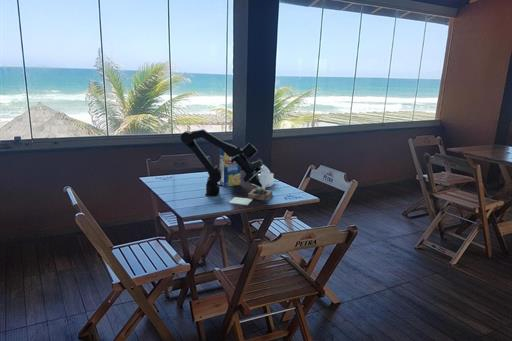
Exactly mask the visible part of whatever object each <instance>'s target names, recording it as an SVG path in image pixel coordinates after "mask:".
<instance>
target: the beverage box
mask: <svg viewBox="0 0 512 341" xmlns="http://www.w3.org/2000/svg"><path fill="white" fill-rule="evenodd" d="M239 155H240V154H239ZM239 155H238V156H239ZM236 156H237V155H236ZM231 158H234V157H230V156H228V155H227V154H226V153H225V152H224V151H223V150H222V149H221V148H219V169H220V170H221V174H222V175H221V180H220V181H219V185H221V186H222V187H231V186H232V187H233V186H240V185H241V175H242V174H241V172H242V171H241V168H240V167H239V166H238V164H237V163H236V162H233V163H231Z"/></svg>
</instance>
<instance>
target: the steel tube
mask: <svg viewBox="0 0 512 341" xmlns="http://www.w3.org/2000/svg"><path fill="white" fill-rule="evenodd" d="M265 177H266V175H265V174H257V178H258V180H259V181H260V183H261V184H262V187H259V186H257V185H256V186H255V189H256V194H262V195H265V190H266V187H265Z"/></svg>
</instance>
